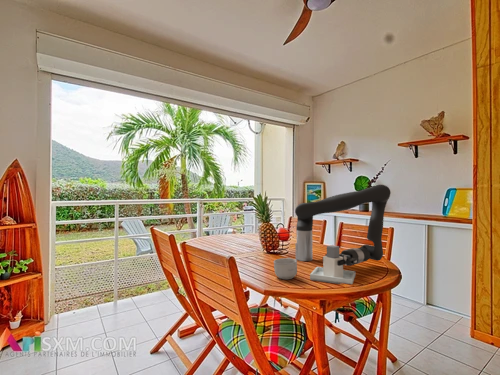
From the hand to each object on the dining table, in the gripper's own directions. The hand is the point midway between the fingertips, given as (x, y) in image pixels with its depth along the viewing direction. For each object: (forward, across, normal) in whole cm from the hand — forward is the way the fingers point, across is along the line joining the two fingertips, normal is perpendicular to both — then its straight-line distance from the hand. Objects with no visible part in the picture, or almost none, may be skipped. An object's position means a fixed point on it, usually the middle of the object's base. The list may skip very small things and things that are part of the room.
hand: (330, 261), depth 124 cm
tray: (-2, 0, +8) cm, 8 cm away
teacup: (+14, -14, +8) cm, 22 cm away
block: (-2, 0, +6) cm, 7 cm away
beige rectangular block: (-2, 0, +7) cm, 7 cm away
